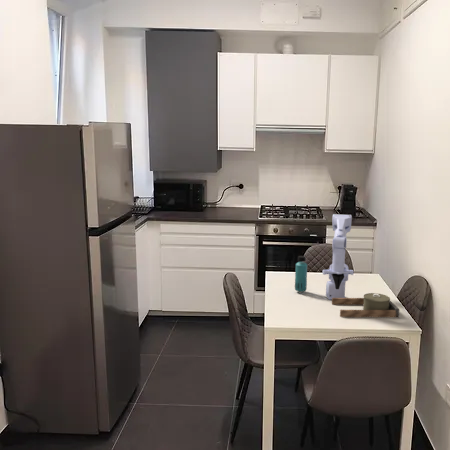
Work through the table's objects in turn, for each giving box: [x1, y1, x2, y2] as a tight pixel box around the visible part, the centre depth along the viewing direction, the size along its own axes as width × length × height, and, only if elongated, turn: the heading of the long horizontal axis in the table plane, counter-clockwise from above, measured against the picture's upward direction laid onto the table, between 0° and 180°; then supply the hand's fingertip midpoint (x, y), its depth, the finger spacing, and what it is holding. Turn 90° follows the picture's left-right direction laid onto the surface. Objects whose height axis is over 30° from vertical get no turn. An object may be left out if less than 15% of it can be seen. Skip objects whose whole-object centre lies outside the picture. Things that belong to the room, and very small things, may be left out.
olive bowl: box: [362, 292, 391, 310], centre depth 217 cm, size 12×12×7 cm
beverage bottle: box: [294, 255, 308, 292], centre depth 242 cm, size 6×7×20 cm
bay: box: [331, 297, 400, 318], centre depth 218 cm, size 27×18×4 cm
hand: (337, 288), depth 221 cm, fingers closed
